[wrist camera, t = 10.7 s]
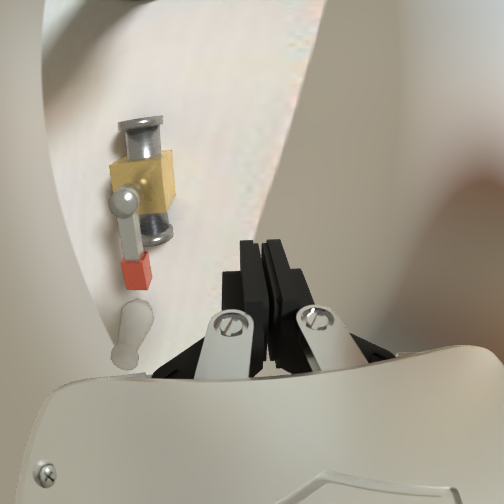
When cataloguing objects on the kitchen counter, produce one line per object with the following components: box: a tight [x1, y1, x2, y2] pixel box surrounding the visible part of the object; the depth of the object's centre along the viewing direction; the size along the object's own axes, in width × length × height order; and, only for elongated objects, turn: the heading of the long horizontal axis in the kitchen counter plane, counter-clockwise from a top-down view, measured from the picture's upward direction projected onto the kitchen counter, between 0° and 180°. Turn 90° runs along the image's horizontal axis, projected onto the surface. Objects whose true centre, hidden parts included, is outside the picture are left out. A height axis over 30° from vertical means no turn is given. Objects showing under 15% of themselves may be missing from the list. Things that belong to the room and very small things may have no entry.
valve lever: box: [109, 183, 152, 290], centre depth 29 cm, size 12×3×3 cm, turn 178°
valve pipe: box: [109, 116, 176, 247], centre depth 32 cm, size 16×6×9 cm, turn 0°
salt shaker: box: [111, 298, 154, 370], centre depth 41 cm, size 6×6×13 cm
